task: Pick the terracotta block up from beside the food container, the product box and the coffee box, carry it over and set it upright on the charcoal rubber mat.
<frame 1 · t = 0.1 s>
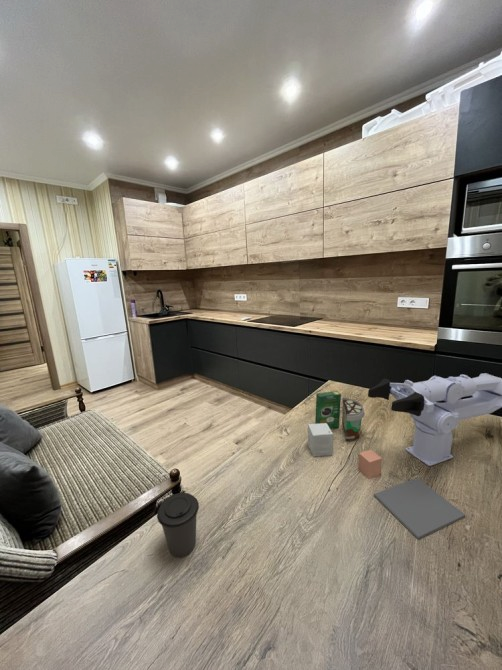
hand: (380, 399, 70), 22 cm above the table, tool horizontal, fingers open, 7 cm apart
food container: (353, 433, 93), on the table
mat: (417, 505, 64), on the table
coffee cup: (182, 545, 58), on the table
product box: (319, 450, 85), on the table
coffee box: (327, 428, 96), on the table
block: (369, 471, 76), on the table
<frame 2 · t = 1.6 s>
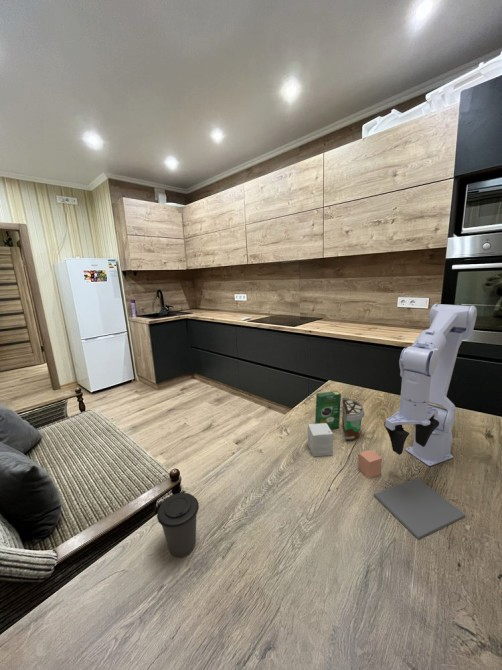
hand: (408, 448, 68), 10 cm above the table, tool pointing down, fingers open, 7 cm apart
nothing on the table moved.
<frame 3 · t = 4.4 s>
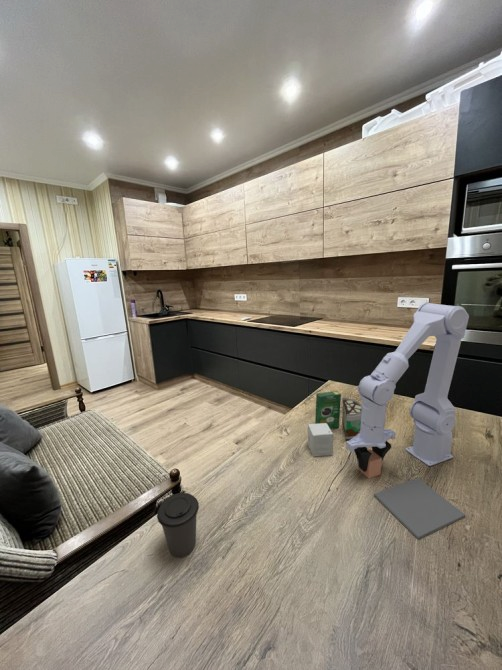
hand: (369, 466, 75), 1 cm above the table, tool pointing down, fingers closed on block, 4 cm apart
block: (369, 471, 76), on the table, touching gripper
everything else where it was.
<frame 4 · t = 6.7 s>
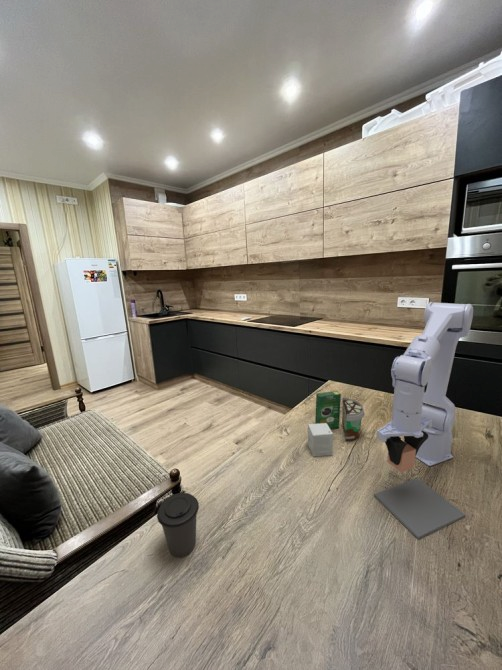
hand: (401, 459, 66), 9 cm above the table, tool pointing down, fingers closed on block, 4 cm apart
block: (400, 464, 67), point 8 cm above the table, touching gripper
everything else where it was.
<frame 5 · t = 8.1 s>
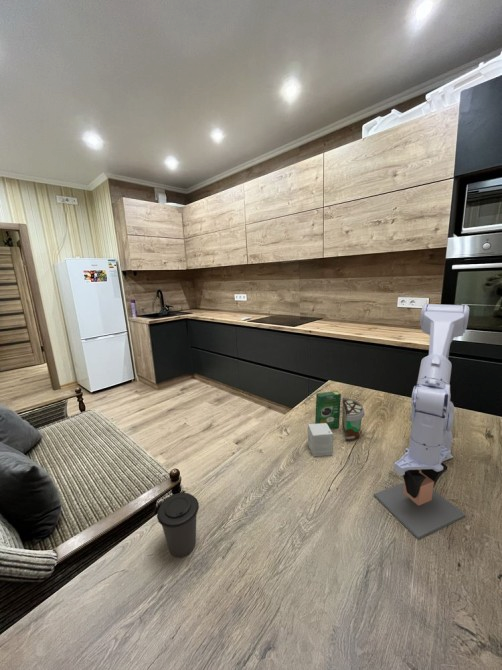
hand: (419, 491, 63), 4 cm above the table, tool pointing down, fingers closed on block, 4 cm apart
block: (417, 496, 64), point 2 cm above the table, touching gripper
everything else where it was.
when the fingers open (3 cm above the table, at t = 9.2 s): block stays where it is, resting on mat.
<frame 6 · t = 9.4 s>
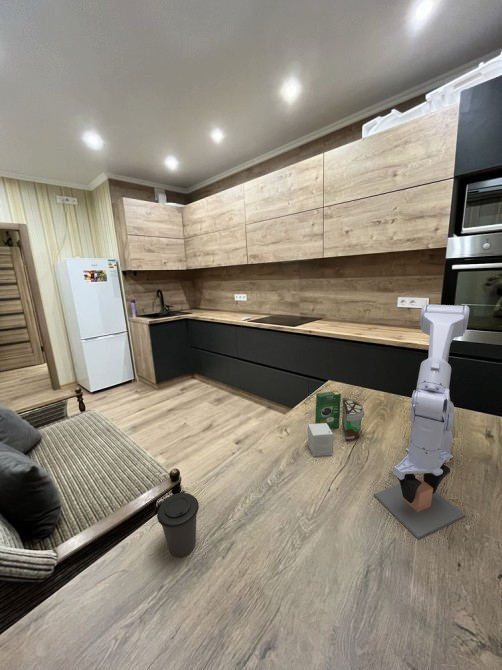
hand: (418, 495, 64), 3 cm above the table, tool pointing down, fingers open, 6 cm apart
block: (416, 502, 65), point 1 cm above the table, touching mat
everything else where it was.
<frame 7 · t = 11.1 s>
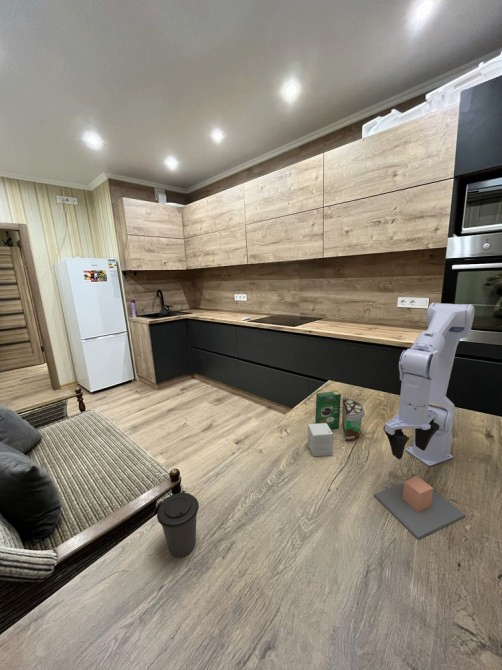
hand: (408, 452, 67), 10 cm above the table, tool pointing down, fingers open, 7 cm apart
nothing on the table moved.
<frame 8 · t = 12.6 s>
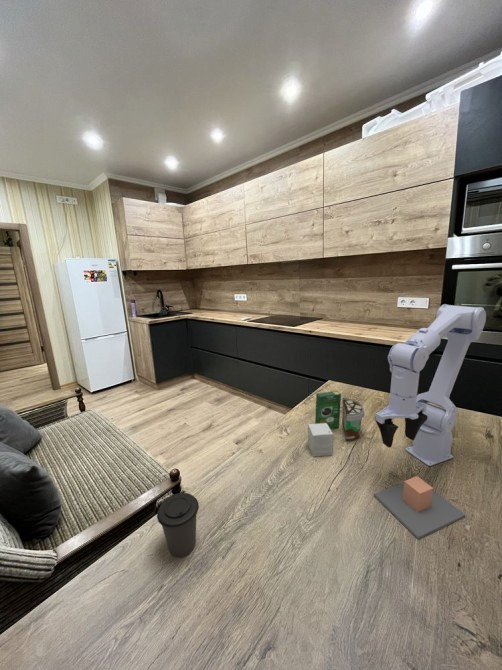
hand: (398, 441, 71), 10 cm above the table, tool pointing down, fingers open, 7 cm apart
nothing on the table moved.
at the end: block inside the target area on the mat (0.3 cm from its centre), point 0.6 cm above the mat's base; block tilted 0°; the gripper is holding nothing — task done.
